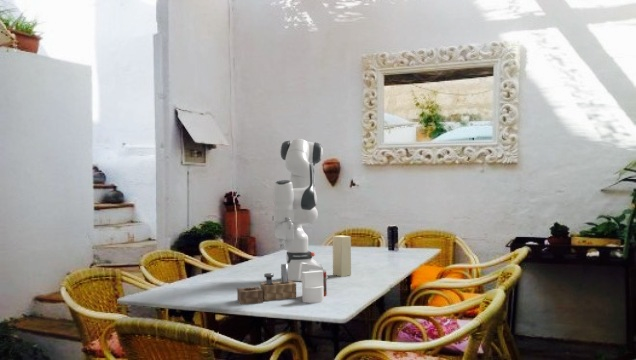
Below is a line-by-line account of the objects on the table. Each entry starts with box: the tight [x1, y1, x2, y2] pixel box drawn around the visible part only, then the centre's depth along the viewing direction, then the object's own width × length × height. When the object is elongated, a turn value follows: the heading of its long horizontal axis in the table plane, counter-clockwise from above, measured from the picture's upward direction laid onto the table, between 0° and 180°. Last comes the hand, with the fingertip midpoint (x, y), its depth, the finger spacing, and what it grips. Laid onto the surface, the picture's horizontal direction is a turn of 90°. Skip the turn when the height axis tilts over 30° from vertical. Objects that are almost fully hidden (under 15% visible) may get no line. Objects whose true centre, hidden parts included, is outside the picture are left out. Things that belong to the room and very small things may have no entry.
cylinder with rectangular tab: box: [301, 270, 325, 304], centre depth 220 cm, size 9×9×12 cm
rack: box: [236, 286, 264, 305], centre depth 220 cm, size 9×9×5 cm
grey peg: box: [280, 263, 289, 284], centre depth 228 cm, size 3×3×14 cm
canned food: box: [309, 268, 328, 297], centre depth 230 cm, size 8×8×11 cm
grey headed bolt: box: [263, 272, 274, 285], centre depth 226 cm, size 4×4×8 cm
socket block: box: [259, 280, 297, 301], centre depth 227 cm, size 14×8×6 cm, turn 108°
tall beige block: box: [332, 234, 352, 277], centre depth 282 cm, size 8×7×21 cm
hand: (284, 249), depth 228 cm, fingers open, 8 cm apart
